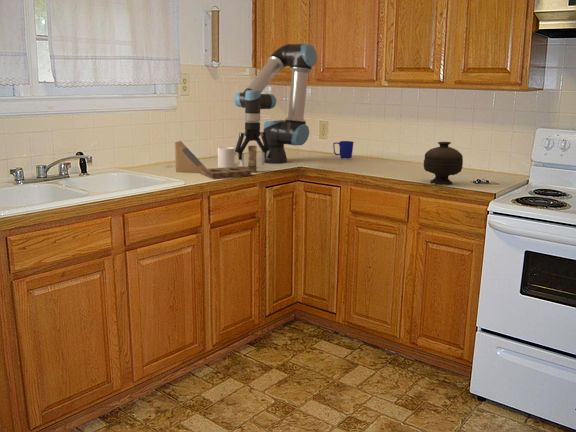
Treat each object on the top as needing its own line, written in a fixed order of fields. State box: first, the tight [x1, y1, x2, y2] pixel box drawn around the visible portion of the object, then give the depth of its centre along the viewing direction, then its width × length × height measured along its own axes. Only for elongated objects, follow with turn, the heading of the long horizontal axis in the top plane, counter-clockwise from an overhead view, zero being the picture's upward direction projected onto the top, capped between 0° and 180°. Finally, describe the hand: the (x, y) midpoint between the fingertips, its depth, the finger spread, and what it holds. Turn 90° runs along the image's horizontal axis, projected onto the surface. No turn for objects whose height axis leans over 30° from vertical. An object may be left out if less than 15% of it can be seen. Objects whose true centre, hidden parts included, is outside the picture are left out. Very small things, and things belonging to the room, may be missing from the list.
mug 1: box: [217, 146, 240, 168], centre depth 297 cm, size 9×12×11 cm
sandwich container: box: [174, 140, 208, 174], centre depth 285 cm, size 9×15×15 cm, turn 83°
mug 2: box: [332, 140, 354, 159], centre depth 345 cm, size 8×12×10 cm
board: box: [200, 166, 252, 180], centre depth 278 cm, size 20×14×2 cm
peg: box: [247, 145, 257, 173], centre depth 289 cm, size 4×4×13 cm
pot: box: [423, 141, 464, 185], centre depth 268 cm, size 18×18×20 cm
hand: (252, 165), depth 290 cm, fingers open, 11 cm apart
